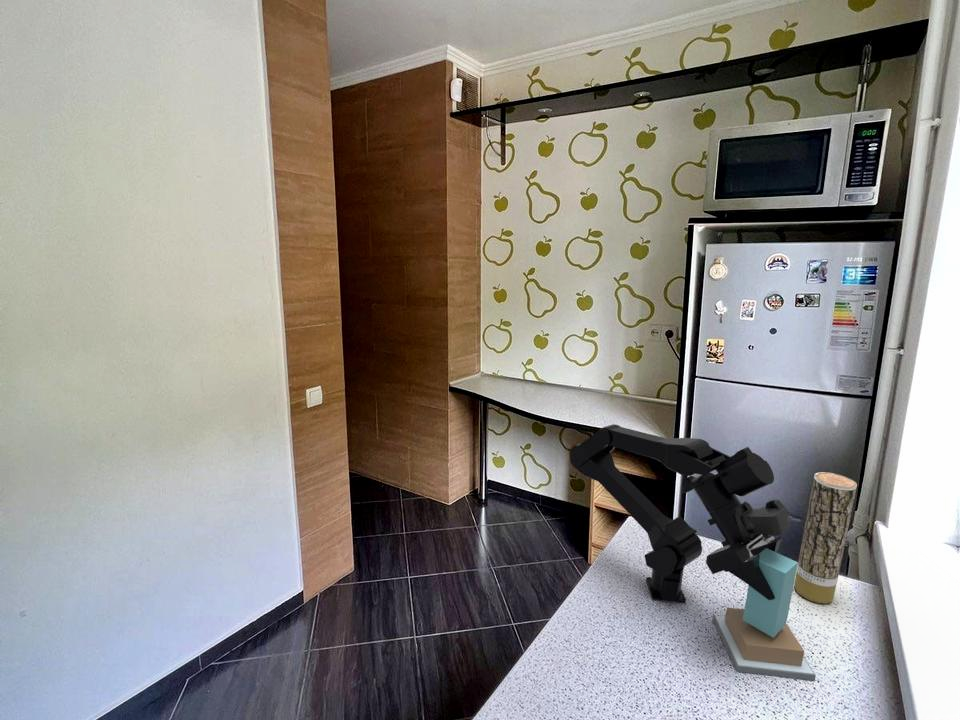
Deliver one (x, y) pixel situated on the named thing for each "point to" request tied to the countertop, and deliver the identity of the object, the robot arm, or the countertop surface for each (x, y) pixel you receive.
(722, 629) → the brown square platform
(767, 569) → the teal block
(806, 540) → the wooden log
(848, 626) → the countertop surface
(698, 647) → the countertop surface
